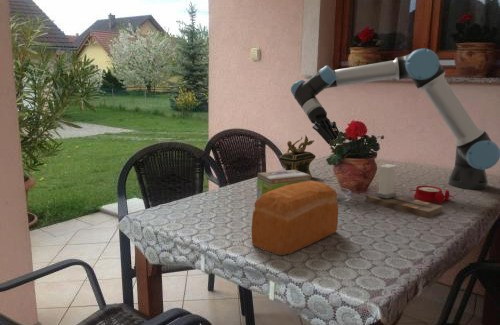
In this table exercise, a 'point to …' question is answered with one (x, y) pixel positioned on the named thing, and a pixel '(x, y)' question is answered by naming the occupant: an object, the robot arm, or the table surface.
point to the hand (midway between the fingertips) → (345, 155)
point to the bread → (294, 217)
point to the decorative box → (298, 157)
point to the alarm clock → (431, 194)
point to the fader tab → (386, 181)
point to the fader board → (406, 205)
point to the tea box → (279, 180)
